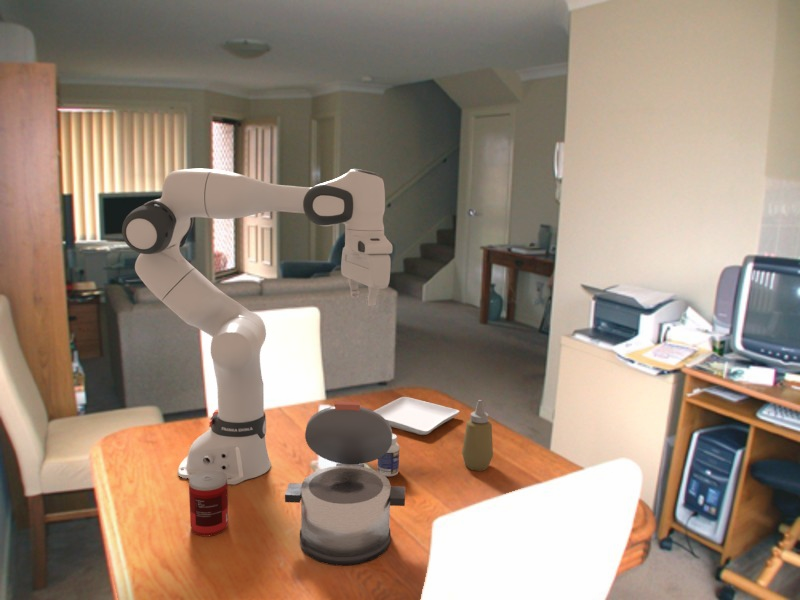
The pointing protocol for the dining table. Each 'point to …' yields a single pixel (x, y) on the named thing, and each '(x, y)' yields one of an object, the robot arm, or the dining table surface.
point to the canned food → (208, 502)
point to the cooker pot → (345, 513)
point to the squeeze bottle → (478, 440)
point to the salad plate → (415, 415)
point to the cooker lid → (348, 434)
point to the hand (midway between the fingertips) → (362, 301)
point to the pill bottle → (390, 460)
